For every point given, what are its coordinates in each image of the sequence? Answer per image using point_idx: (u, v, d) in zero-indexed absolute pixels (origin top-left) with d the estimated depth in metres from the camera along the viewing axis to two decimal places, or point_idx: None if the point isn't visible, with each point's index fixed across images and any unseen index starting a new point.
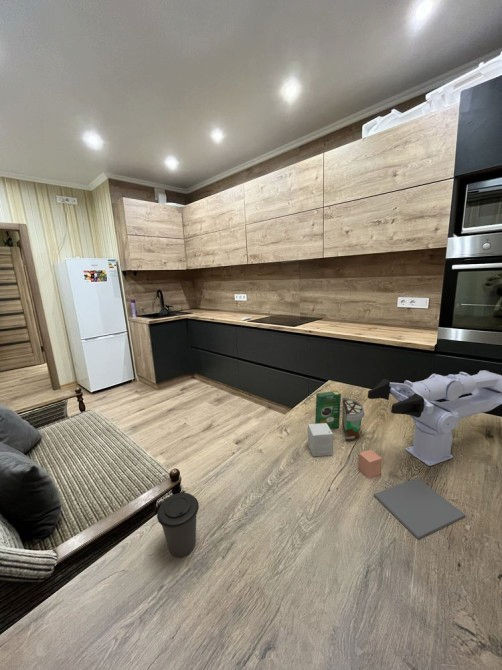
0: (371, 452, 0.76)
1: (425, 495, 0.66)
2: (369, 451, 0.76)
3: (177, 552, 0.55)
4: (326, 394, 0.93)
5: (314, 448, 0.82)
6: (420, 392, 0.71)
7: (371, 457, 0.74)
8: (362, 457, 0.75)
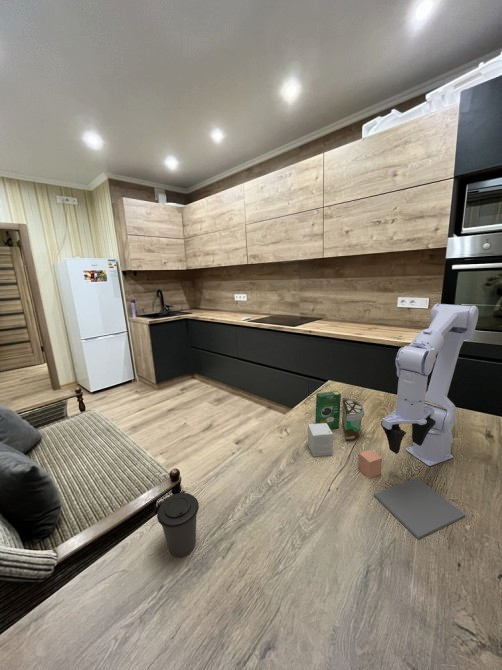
0: (371, 452, 0.76)
1: (425, 495, 0.66)
2: (369, 451, 0.76)
3: (177, 552, 0.55)
4: (326, 394, 0.93)
5: (314, 448, 0.82)
6: None
7: (371, 457, 0.74)
8: (362, 457, 0.75)
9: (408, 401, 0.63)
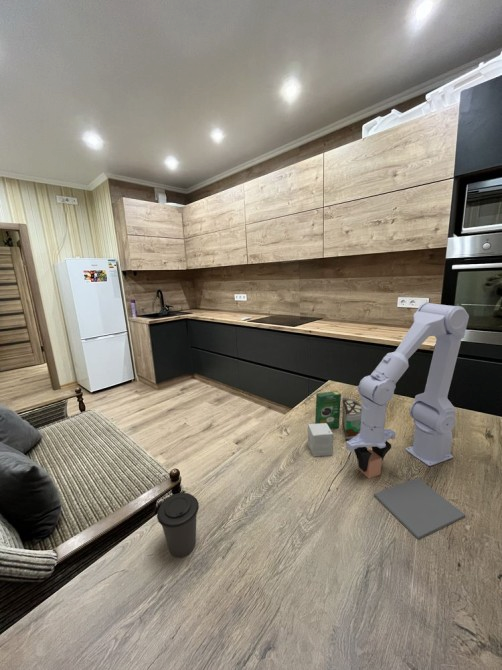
0: (371, 452, 0.76)
1: (425, 495, 0.66)
2: (369, 451, 0.76)
3: (177, 552, 0.55)
4: (326, 394, 0.93)
5: (314, 448, 0.82)
6: None
7: (371, 457, 0.74)
8: None
9: (369, 426, 0.70)
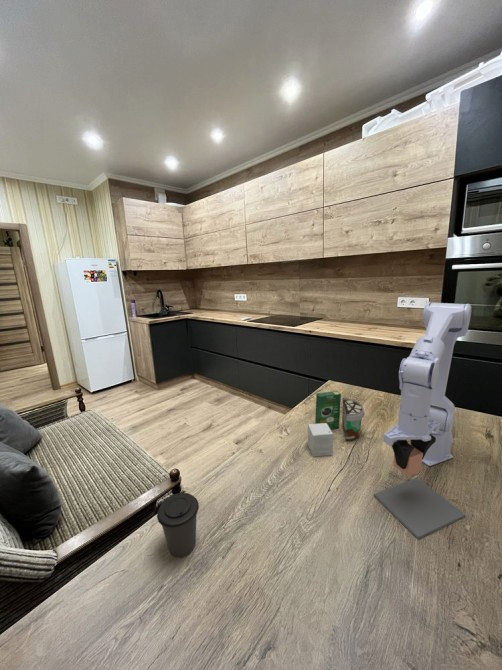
0: None
1: (425, 495, 0.66)
2: None
3: (177, 552, 0.55)
4: (326, 394, 0.93)
5: (314, 448, 0.82)
6: None
7: None
8: None
9: (411, 416, 0.59)
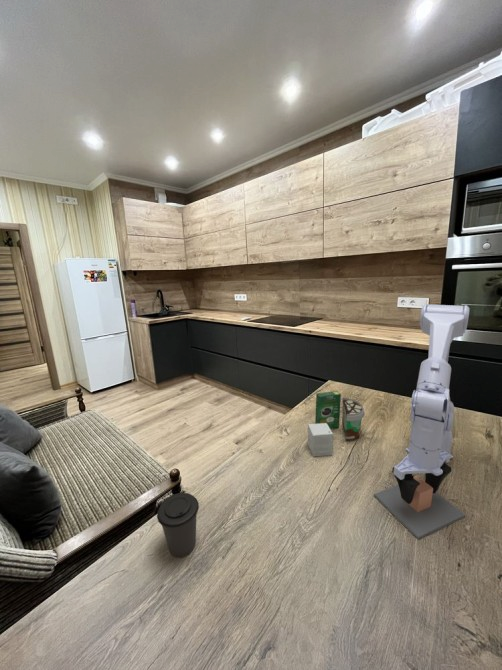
0: (419, 480, 0.65)
1: None
2: (416, 478, 0.65)
3: (177, 552, 0.55)
4: (326, 394, 0.93)
5: (314, 448, 0.82)
6: None
7: (420, 487, 0.63)
8: None
9: (422, 449, 0.58)
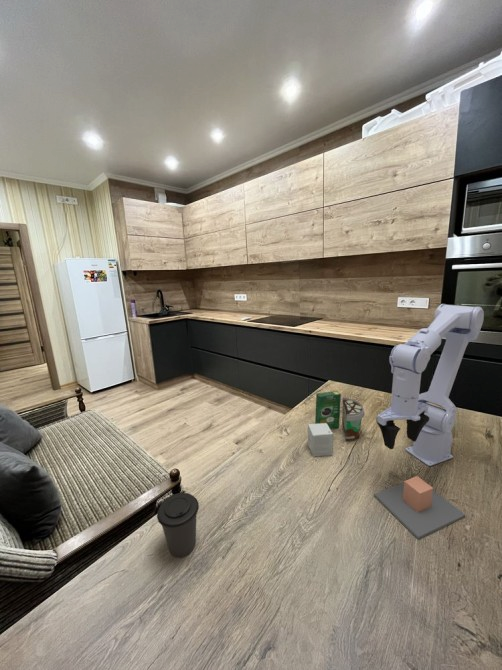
0: (419, 480, 0.65)
1: None
2: (416, 478, 0.65)
3: (177, 552, 0.55)
4: (326, 394, 0.93)
5: (314, 448, 0.82)
6: None
7: (420, 487, 0.63)
8: (409, 486, 0.63)
9: (402, 398, 0.65)
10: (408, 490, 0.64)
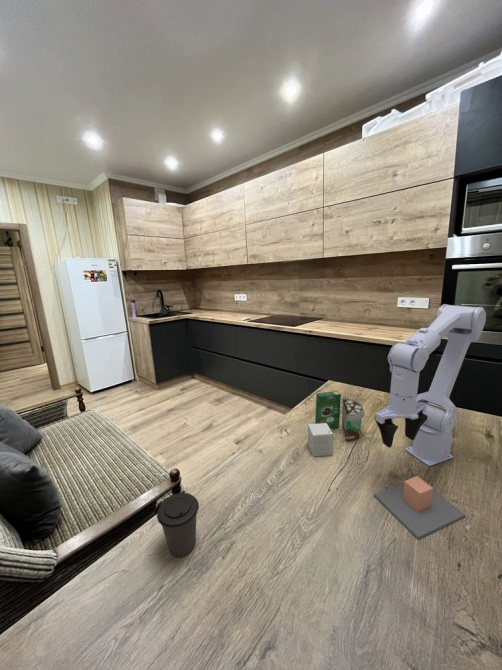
0: (419, 480, 0.65)
1: None
2: (416, 478, 0.65)
3: (177, 552, 0.55)
4: (326, 394, 0.93)
5: (314, 448, 0.82)
6: None
7: (420, 487, 0.63)
8: (409, 486, 0.63)
9: (400, 396, 0.66)
10: (408, 490, 0.64)
